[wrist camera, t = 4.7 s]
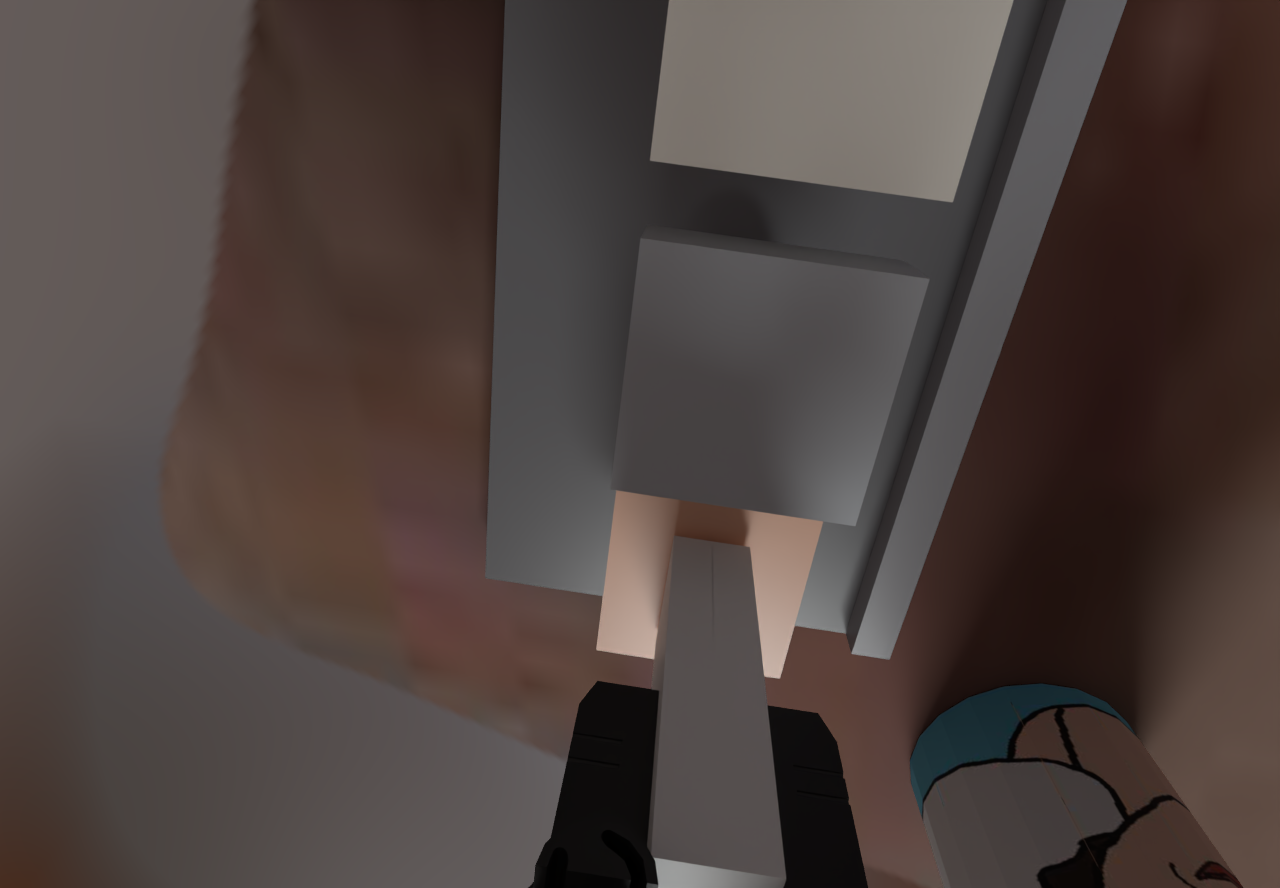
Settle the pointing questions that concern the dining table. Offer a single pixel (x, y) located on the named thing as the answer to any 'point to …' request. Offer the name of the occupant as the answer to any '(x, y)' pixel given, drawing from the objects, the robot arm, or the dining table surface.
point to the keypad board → (762, 210)
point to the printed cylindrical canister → (1053, 798)
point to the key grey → (761, 372)
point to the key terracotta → (655, 521)
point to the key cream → (828, 89)
